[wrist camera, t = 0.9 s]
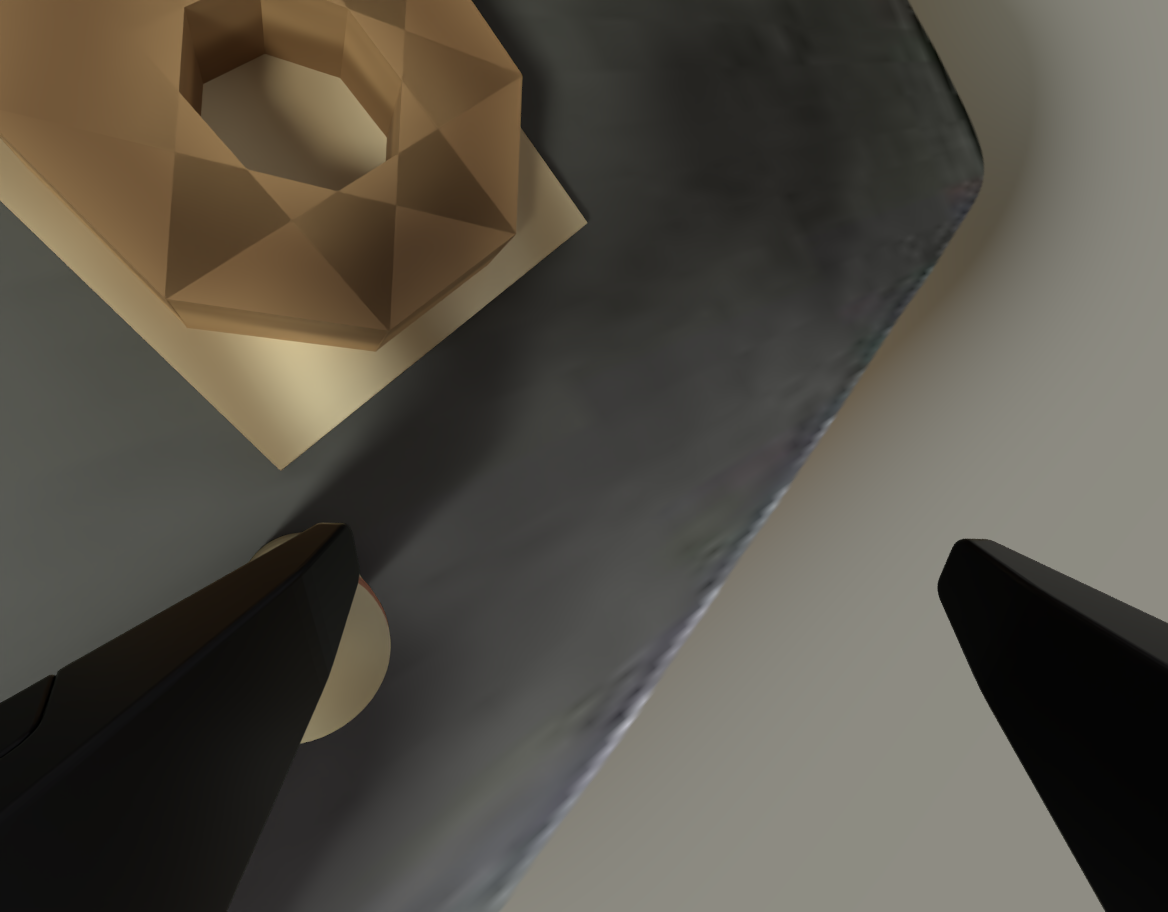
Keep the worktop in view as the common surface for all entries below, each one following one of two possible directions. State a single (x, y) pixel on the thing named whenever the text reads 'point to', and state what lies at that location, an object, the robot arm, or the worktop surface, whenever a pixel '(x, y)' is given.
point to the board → (317, 157)
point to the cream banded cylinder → (350, 660)
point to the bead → (260, 201)
